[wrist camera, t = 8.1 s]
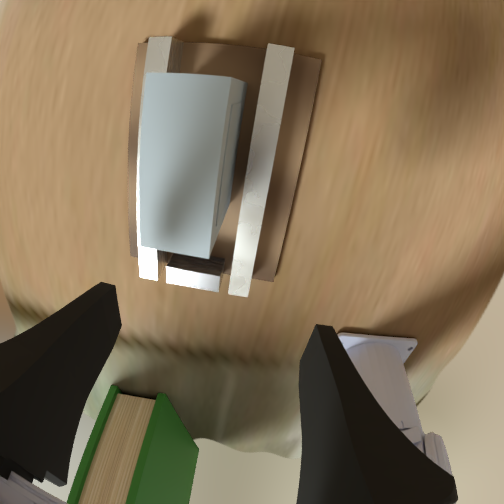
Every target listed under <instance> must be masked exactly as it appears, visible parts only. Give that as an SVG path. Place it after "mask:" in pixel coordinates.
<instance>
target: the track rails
mask: <svg viewBox="0 0 504 504" xmlns="http://www.w3.org/2000/svg"><path fill="white" fill-rule="evenodd" d="M183 46H184V42H183V41H180V40H178V39H176V38H174V37H149V41H148V47H147V54H146V61H145V68H144V76H143V85H142V94H141V105H140V117H139V132H138V153H137V232H138V253H139V269H140V277H143V278H148V279H152V280H157V281H158V279H159V277H160V275H161V273H162V271H163V270H164V268H165V266H166V264H167V251H161V250H156V249H151V248H145V247H140V228H139V164H140V140H141V124H142V111H143V99H144V89H145V80H146V73H179V72H180V65H181V59H182V52H183ZM294 49H295V48H293V47H287V46H282V45H276V44H270V43H268V46H267V52H266V57H265V63H264V69H263V74H262V80H261V86H260V92H259V97H258V103H257V109H256V115H255V121H254V127H253V133H252V139H251V145H250V152H249V158H248V164H247V170H246V177H245V183H244V189H243V196H242V202H241V209H240V216H239V222H238V229H237V236H236V242H235V249H234V256H233V263H232V270H231V277H230V284H229V291H228V294H231V295H237V296H243V297H248V293H249V288H250V283H251V278H252V272H253V267H254V262H255V257H256V251H257V246H258V241H259V236H260V231H261V225H262V220H263V215H264V210H265V204H266V199H267V194H268V188H269V183H270V178H271V173H272V167H273V162H274V157H275V151H276V146H277V141H278V135H279V130H280V124H281V119H282V114H283V108H284V103H285V98H286V92H287V87H288V81H289V76H290V70H291V65H292V60H293V54H294ZM224 265H225V258H220V257H215V256H210V257H209V259H206V258H200V257H195V256H189V255H184V254H178V253H174V254H173V255H172V257H171V259H170V261H169V263H168V264H167V266H166V282H167V283H172V284H177V285H182V286H187V287H193V288H198V289H203V290H209V291H214V292H219V288H220V284H221V281H222V277H223V273H224Z"/></svg>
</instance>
